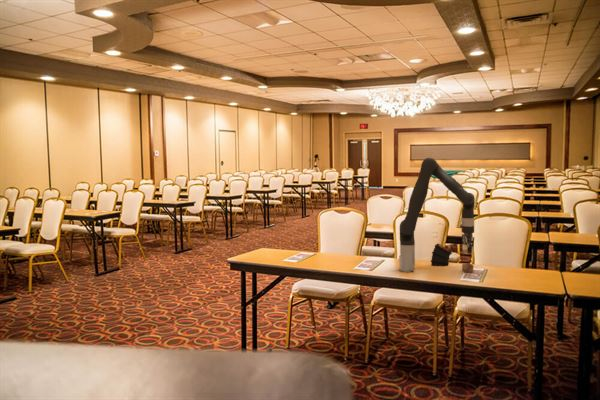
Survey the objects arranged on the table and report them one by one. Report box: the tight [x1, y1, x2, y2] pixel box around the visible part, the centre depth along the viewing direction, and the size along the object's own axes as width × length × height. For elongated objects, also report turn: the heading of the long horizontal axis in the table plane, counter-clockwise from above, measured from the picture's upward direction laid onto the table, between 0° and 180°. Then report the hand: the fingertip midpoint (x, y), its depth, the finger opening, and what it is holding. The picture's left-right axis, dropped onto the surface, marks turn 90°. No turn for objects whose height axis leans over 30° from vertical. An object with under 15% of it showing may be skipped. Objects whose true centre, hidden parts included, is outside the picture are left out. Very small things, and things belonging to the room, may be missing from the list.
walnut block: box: [461, 263, 474, 274], centre depth 301 cm, size 5×5×5 cm
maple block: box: [462, 243, 475, 255], centre depth 300 cm, size 5×5×5 cm
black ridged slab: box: [430, 243, 453, 267], centre depth 326 cm, size 4×13×15 cm, turn 54°
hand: (467, 252), depth 300 cm, fingers closed on maple block, 5 cm apart
